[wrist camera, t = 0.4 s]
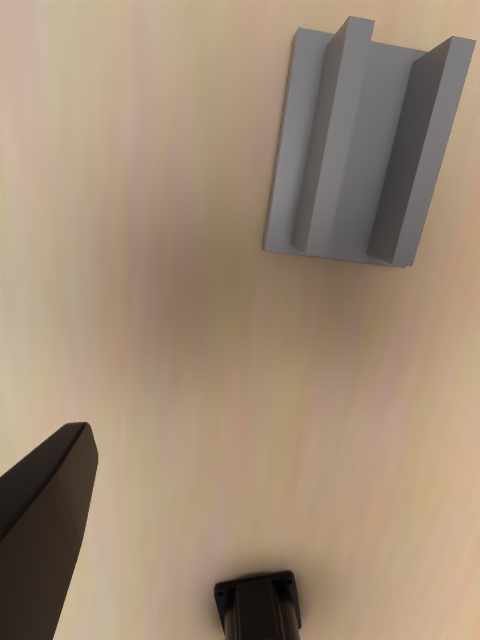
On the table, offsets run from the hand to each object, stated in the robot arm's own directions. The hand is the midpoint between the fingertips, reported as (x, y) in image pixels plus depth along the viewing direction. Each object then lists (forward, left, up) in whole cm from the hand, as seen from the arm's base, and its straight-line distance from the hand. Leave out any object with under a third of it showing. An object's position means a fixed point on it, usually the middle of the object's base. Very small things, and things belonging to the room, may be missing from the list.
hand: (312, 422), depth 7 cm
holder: (+5, -6, -14) cm, 16 cm away
